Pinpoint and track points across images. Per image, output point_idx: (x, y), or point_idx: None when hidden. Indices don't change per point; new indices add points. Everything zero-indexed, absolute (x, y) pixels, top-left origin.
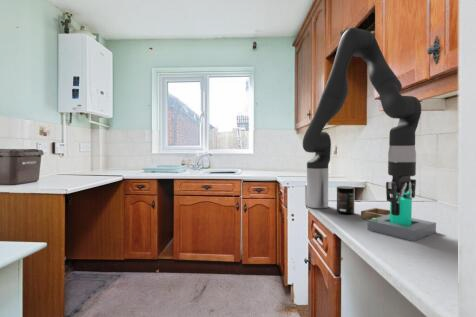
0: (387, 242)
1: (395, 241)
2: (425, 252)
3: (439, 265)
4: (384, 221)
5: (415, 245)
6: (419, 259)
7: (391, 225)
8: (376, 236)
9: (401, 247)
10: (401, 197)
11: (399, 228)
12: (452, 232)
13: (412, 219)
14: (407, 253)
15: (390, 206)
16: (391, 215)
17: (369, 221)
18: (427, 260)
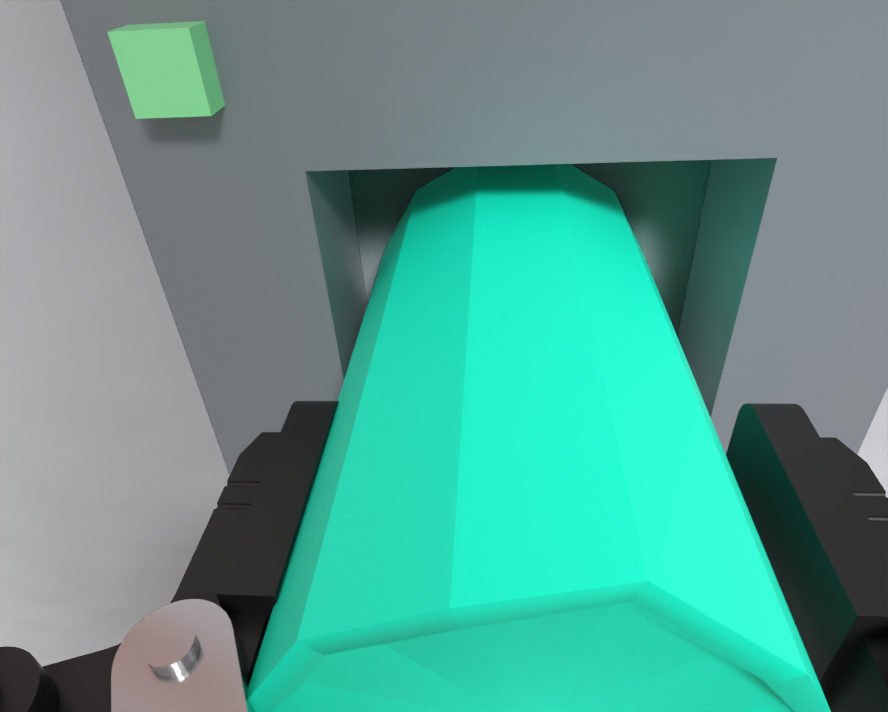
0: (28, 384)
1: (126, 407)
2: (145, 585)
3: (51, 656)
4: (296, 212)
5: (205, 518)
6: (9, 599)
7: (200, 378)
8: (46, 228)
9: (58, 486)
10: (827, 703)
11: (229, 448)
12: None
13: (796, 391)
14: (9, 543)
15: (343, 442)
16: (366, 345)
17: (73, 5)
18: (44, 619)
